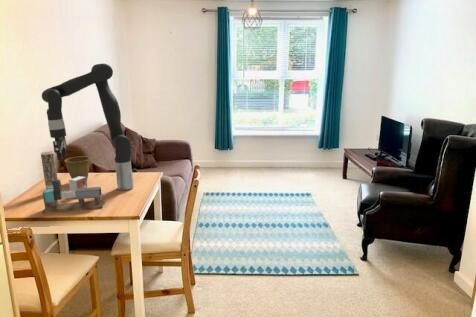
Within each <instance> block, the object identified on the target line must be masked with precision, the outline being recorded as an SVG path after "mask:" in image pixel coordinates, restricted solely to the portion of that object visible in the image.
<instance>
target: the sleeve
mask: <svg viewBox="0 0 476 317" xmlns="http://www.w3.org/2000/svg"><path fill="white" fill-rule="evenodd" d="M75 196H76V197H75V200H78V199H84V200H85V199H94V198H100V199H101V197H102V188H101V186H94V187H93V186H92V187H87V188H77V189H76V190H75Z"/></svg>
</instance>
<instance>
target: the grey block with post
mask: <svg viewBox="0 0 476 317" xmlns="http://www.w3.org/2000/svg"><path fill="white" fill-rule="evenodd" d="M52 183H53V190H54V199H55V200H58V201H61V200H62V199H72V198H76V196H75V191H70V190H68V191H67V190H64V191H63V189H62V183H61V179H58V180H54V181H53V182H52Z"/></svg>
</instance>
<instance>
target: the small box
mask: <svg viewBox="0 0 476 317" xmlns="http://www.w3.org/2000/svg"><path fill="white" fill-rule="evenodd" d="M68 183H69V191H75V190H76V189H77V188H88V179H87V180H86V177H81V176H78V177H76V178H73V179H72V178H71V179H68Z"/></svg>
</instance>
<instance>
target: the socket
mask: <svg viewBox="0 0 476 317" xmlns="http://www.w3.org/2000/svg"><path fill="white" fill-rule="evenodd" d="M42 198H43V204H44V203H51V202H55V201H56V200H55V199H54V190H53V189H46V188H45V190H43V192H42Z"/></svg>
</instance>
